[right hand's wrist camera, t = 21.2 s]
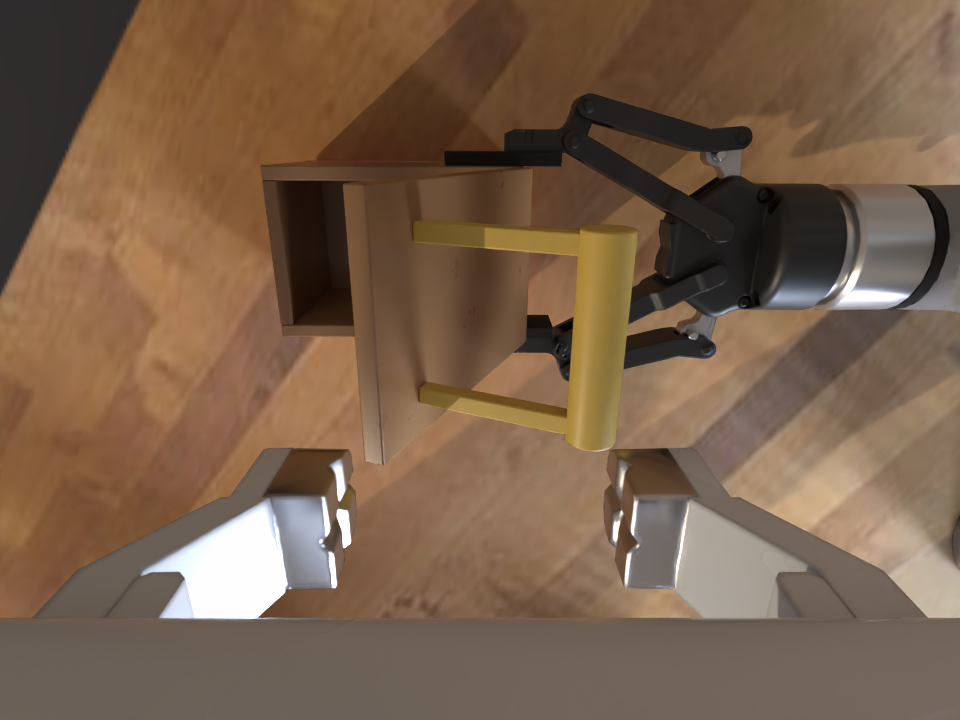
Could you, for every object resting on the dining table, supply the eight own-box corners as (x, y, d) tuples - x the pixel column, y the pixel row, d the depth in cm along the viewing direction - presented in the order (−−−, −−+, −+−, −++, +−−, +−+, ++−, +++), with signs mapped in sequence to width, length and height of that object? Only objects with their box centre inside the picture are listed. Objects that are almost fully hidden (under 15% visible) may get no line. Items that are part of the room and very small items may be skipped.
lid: (363, 461, 20) (591, 523, 17) (341, 183, 16) (623, 194, 13) (512, 339, 32) (658, 361, 29) (517, 167, 29) (684, 170, 26)
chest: (324, 295, 41) (281, 337, 32) (311, 160, 38) (259, 165, 29) (510, 296, 42) (519, 338, 32) (513, 161, 38) (525, 166, 29)
